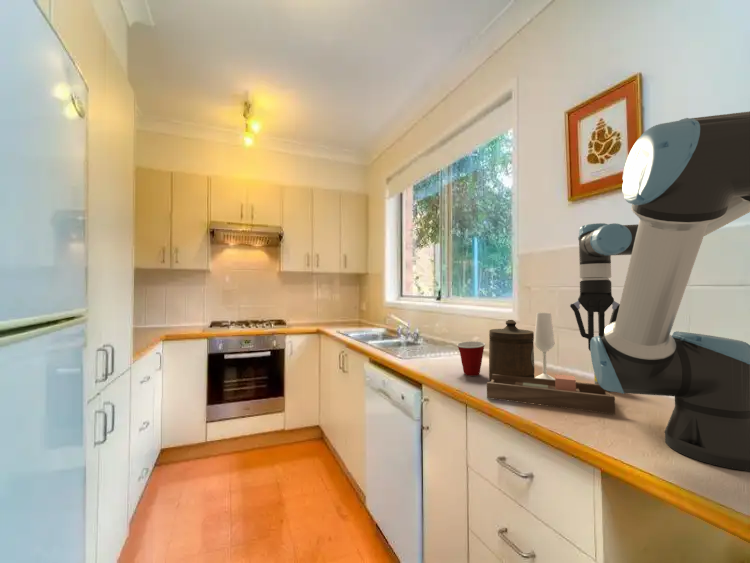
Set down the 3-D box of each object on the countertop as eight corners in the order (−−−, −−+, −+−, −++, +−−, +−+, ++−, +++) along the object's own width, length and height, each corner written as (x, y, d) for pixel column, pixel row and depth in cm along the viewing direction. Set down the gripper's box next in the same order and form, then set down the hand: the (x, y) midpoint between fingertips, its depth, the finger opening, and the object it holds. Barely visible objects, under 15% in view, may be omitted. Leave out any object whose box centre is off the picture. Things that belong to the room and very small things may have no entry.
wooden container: (544, 386, 115) (543, 320, 116) (507, 390, 111) (506, 322, 112) (515, 375, 130) (514, 317, 130) (480, 379, 125) (479, 318, 126)
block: (575, 394, 96) (575, 380, 96) (555, 392, 98) (555, 378, 99) (574, 389, 101) (574, 376, 101) (555, 387, 103) (555, 374, 103)
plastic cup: (451, 372, 135) (450, 342, 135) (472, 369, 140) (472, 340, 140) (469, 379, 125) (469, 346, 126) (492, 375, 130) (491, 344, 130)
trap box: (615, 414, 89) (614, 396, 89) (486, 397, 103) (486, 382, 103) (607, 400, 100) (607, 385, 100) (492, 387, 114) (492, 373, 114)
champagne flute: (550, 376, 128) (549, 312, 129) (558, 381, 122) (557, 313, 122) (532, 376, 129) (530, 312, 130) (538, 380, 122) (537, 313, 123)
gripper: (620, 279, 97) (622, 362, 97) (568, 280, 103) (569, 358, 103) (626, 278, 91) (627, 368, 90) (569, 279, 96) (571, 363, 96)
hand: (596, 363), depth 97 cm, fingers closed
